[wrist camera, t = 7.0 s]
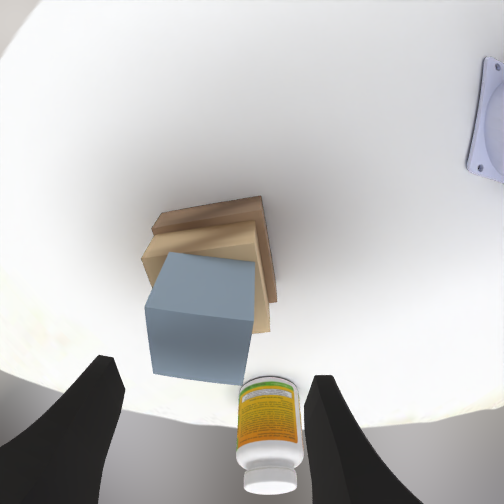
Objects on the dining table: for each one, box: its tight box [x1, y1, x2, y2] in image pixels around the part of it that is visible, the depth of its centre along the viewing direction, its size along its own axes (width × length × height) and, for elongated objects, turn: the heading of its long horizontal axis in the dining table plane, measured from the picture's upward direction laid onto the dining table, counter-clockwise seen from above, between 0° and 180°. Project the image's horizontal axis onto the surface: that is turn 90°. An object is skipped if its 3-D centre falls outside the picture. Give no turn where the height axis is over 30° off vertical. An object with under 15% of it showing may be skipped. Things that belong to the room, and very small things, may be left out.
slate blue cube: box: [145, 252, 255, 386], centre depth 14 cm, size 4×4×4 cm
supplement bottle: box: [236, 377, 304, 494], centre depth 23 cm, size 5×5×10 cm
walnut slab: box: [151, 196, 277, 303], centre depth 19 cm, size 6×6×2 cm
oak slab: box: [141, 220, 270, 334], centre depth 17 cm, size 6×6×2 cm
